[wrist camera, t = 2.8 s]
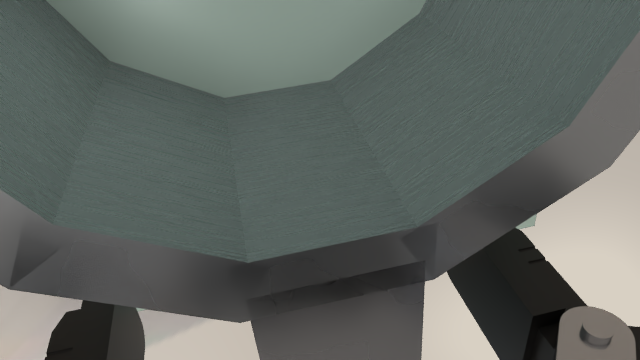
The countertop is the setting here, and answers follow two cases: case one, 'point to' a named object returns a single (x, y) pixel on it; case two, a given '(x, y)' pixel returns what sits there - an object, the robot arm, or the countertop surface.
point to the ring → (305, 168)
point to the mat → (239, 39)
